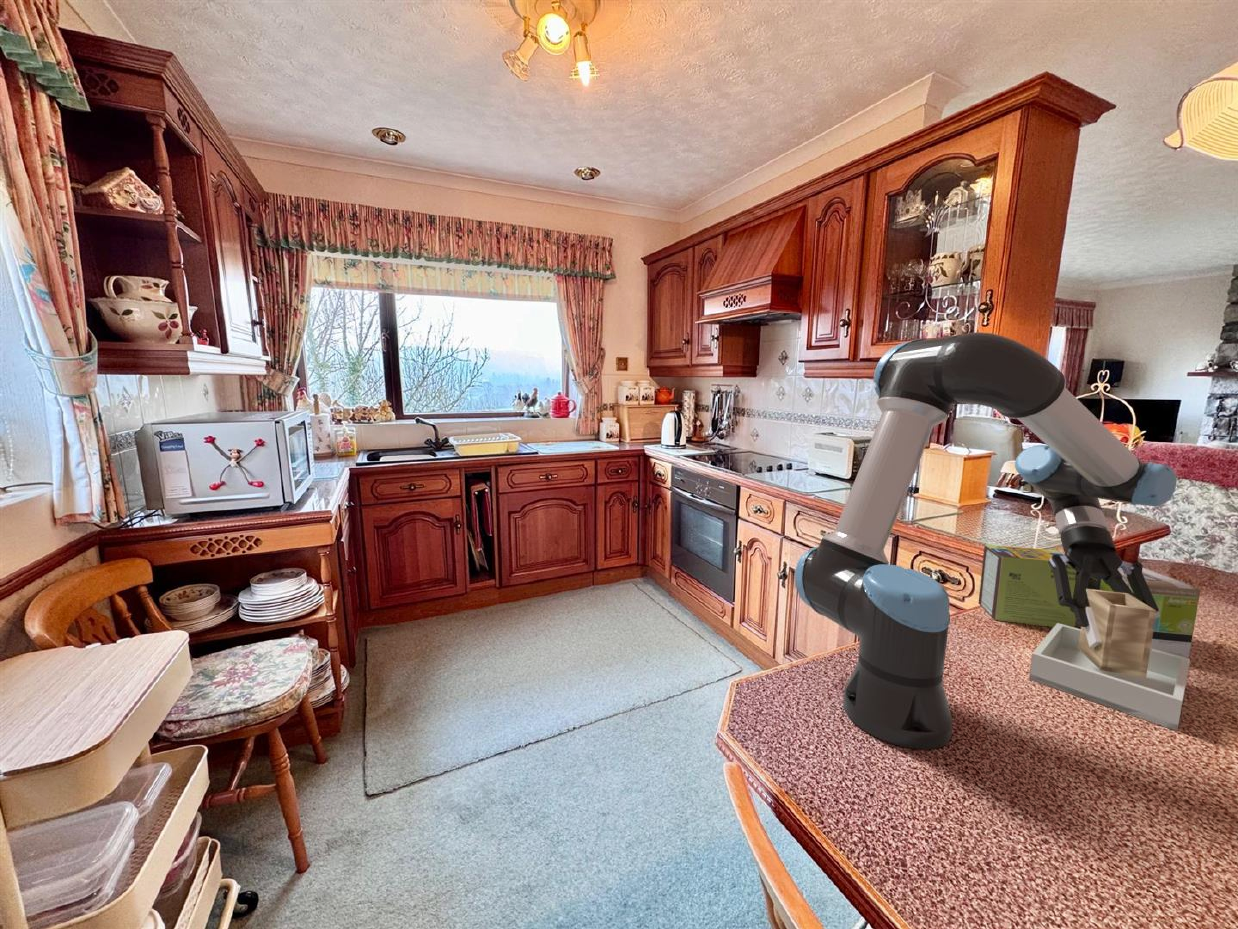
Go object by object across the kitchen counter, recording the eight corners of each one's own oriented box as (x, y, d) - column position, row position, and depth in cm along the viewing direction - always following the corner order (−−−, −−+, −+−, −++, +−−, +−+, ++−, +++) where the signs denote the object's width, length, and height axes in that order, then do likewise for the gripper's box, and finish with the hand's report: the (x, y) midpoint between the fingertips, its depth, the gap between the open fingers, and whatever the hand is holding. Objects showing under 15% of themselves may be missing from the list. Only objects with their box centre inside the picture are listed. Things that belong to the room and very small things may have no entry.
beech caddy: (1100, 670, 86) (1110, 605, 84) (1078, 649, 93) (1086, 588, 91) (1146, 677, 83) (1156, 610, 82) (1119, 655, 91) (1128, 593, 89)
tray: (1028, 679, 89) (1032, 653, 89) (1054, 645, 102) (1057, 623, 101) (1177, 731, 75) (1182, 701, 75) (1185, 685, 88) (1190, 659, 87)
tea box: (1191, 660, 97) (1204, 588, 95) (1131, 654, 99) (1142, 584, 97) (1129, 626, 111) (1139, 563, 109) (1078, 621, 113) (1086, 560, 111)
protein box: (1076, 630, 109) (1085, 563, 107) (994, 620, 113) (1001, 556, 111) (1051, 611, 119) (1059, 549, 117) (976, 603, 123) (983, 543, 121)
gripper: (1136, 548, 98) (1180, 665, 85) (1019, 538, 105) (1044, 645, 92) (1157, 529, 92) (1207, 651, 79) (1033, 519, 99) (1060, 631, 86)
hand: (1120, 648), depth 86 cm, fingers closed on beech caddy, 6 cm apart
